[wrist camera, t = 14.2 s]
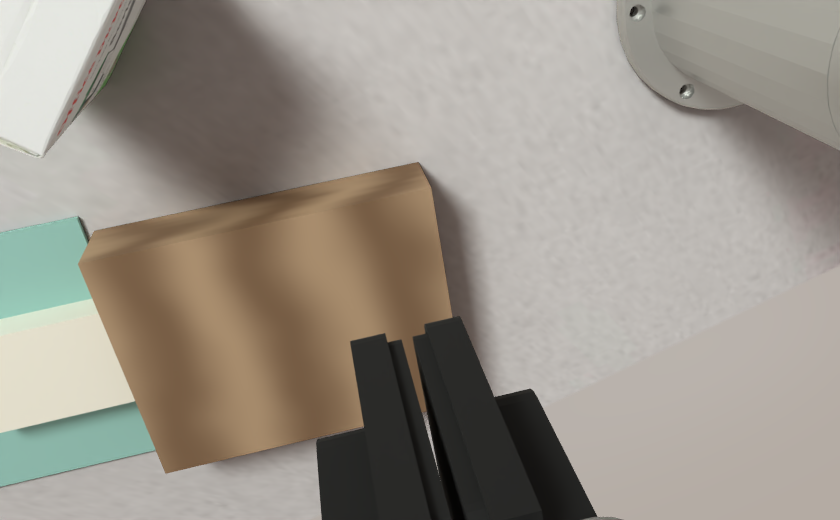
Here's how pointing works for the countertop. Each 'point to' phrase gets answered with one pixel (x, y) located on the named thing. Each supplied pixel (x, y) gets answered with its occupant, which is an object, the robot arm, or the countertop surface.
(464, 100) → the countertop surface
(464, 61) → the countertop surface
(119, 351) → the wooden block
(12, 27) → the ink box
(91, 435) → the mat
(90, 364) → the tile
